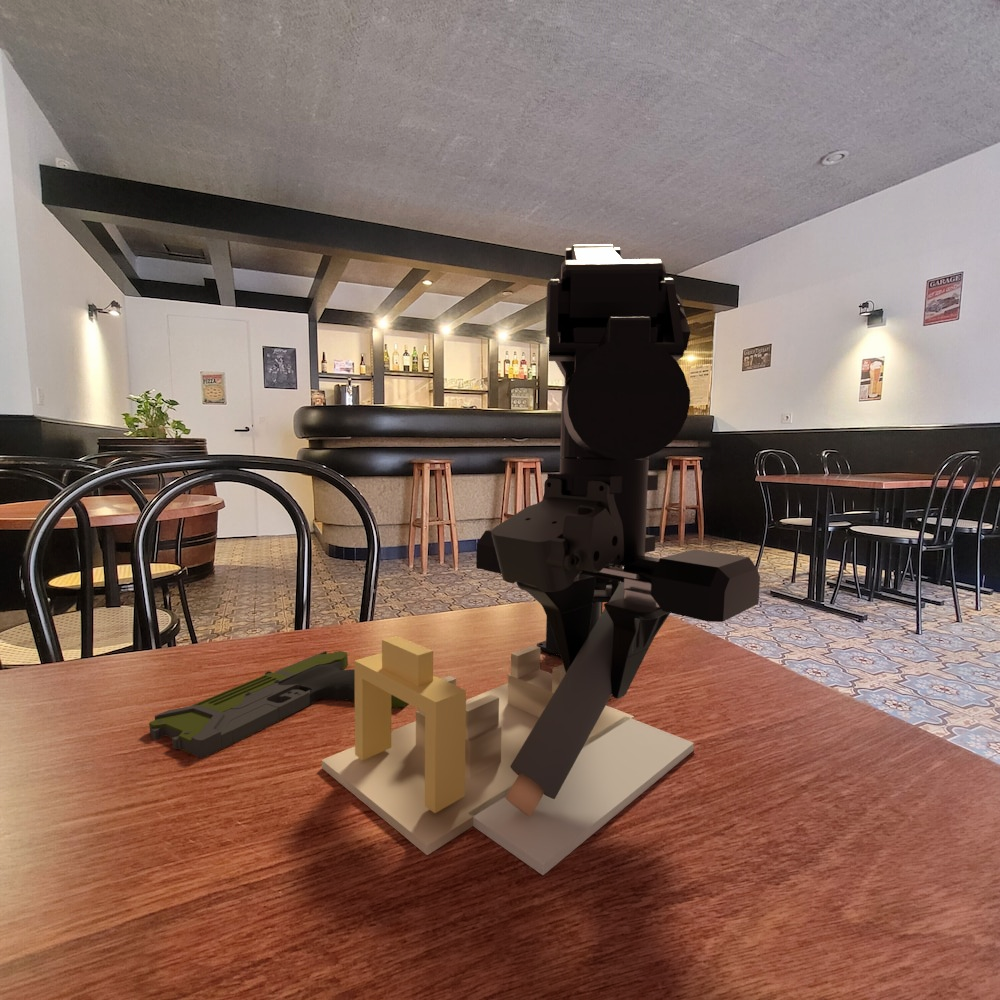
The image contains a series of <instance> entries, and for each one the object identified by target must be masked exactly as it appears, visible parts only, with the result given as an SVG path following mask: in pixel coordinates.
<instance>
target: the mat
mask: <svg viewBox="0 0 1000 1000" xmlns="http://www.w3.org/2000/svg"><path fill="white" fill-rule="evenodd" d="M624 719H627V718H624ZM621 720H623V718H622V719H620V720H619V721H617V722H615V723H614V727H613V726H612V725H613V724H612V725H610V727H611V726H612V727H611V729H610V728H609V727H607V729H609V730H606V728H605V729H604V730H603V731H601V732H602V733H600V732H599V733H600V734H598V733H597V735H598V736H599V735H600V738H598V737H596V735H594V736H595V737H593V736H592V737H591V738H589V739H587V741H586V743H585V744H586V746H585V745H584V746H585V747H584V746H583V748H582V750H581V752H580V754H579V755H578V757H577V759H576V761H575V763H574V765H573V766H572V768H571V770H570V772H569V774H568V776H567V778H566V779H565V781H564V783H563V785H562V787H561V789H560V790H559V792H558V794H557V796H556V798H555V799H552V798H550V797H548V796H546V795H544V794H543V796H542V798H541V800H540V801H539V803H538V805H537V807H536V809H535V810H534V812H533V814H532V816H531V817H529V816H528V815H526V814H525V813H523V812H522V811H520V810H519V809H518V808H516V807H515V806H514V805H512V804H511V803H510V802H509V801H508V800H507V799H506V796H505V797H503V798H501V797H502V796H500V797H499V796H497V797H498V798H497V802H496V803H494V804H493V803H492V804H493V805H491V806H489V807H488V805H487V804H489V803H490V801H491V799H489V801H488V802H489V803H488V802H487V801H486V803H484V805H487V806H484V807H483V809H484V810H483V809H482V810H483V811H482V810H481V811H479V810H478V808H479V807H480V806H478V808H475V809H477V810H478V811H479V812H480V813H478V814H476V813H475V814H473V813H472V814H473V815H475V816H473V826H472V827H473V828H475V829H476V830H477V831H479V832H481V833H482V834H484V835H485V836H487V838H488V839H491V841H494V843H496V844H498V845H499V846H500V847H502V848H503V849H505V850H506V851H507V852H509V853H511V855H513V856H515V857H516V858H517V859H519V860H520V861H522V862H523V863H524V864H526V865H527V866H528V867H530V868H531V869H533V870H535V871H536V872H537V873H539V874H540V875H542V876H544V875H546V874H547V873H548V872H549V871H550V870H552V869H553V868H555V866H556V865H558V864H559V863H560V862H561V861H562V860H564V859H565V858H566V857H567V856H569V855H570V854H571V853H572V852H573V851H574V850H576V849H577V848H578V847H580V845H582V844H583V843H584V842H585V841H587V839H589V838H590V837H591V836H593V835H594V834H595V833H596V832H597V831H599V830H600V829H601V828H602V827H603V826H605V825H606V824H607V823H608V822H610V821H611V820H612V819H613V818H614V817H615V816H616V815H618V814H619V813H621V812H622V811H623V810H624V809H625V808H626V807H628V805H630V804H631V803H632V802H634V801H635V800H636V799H637V798H638V797H639V796H641V795H642V794H644V792H645V791H647V790H648V789H649V788H650V787H652V785H654V784H655V783H656V782H657V781H659V780H660V779H661V778H662V777H664V776H665V775H666V774H667V773H668V772H670V771H671V770H672V769H673V768H674V767H676V766H677V765H678V764H679V763H681V762H682V761H683V760H684V759H685V758H687V756H689V755H690V754H691V753H692V752H694V749H695V742H693V741H690V740H688V739H685V738H682V737H681V736H680V737H679V736H677V735H675V734H672V733H670V732H667V731H664V730H662V729H660V728H656V727H654V726H652V725H650V724H646V723H644V722H641V721H638V720H636V719H635V718H634V719H632V718H630V719H628V720H627V721H626V722H624V723H622V722H623V721H625V720H623V721H621ZM618 722H619V724H618ZM620 723H621V725H620ZM615 725H616V726H618V725H619V726H618V727H616V728H615ZM612 728H614V729H613V730H612ZM604 732H606V733H604ZM602 734H604V735H603V736H602V737H601V735H602ZM590 739H591V740H590ZM588 741H589V742H588ZM590 741H591V742H590ZM593 741H594V742H593ZM587 742H588V743H589V744H587ZM511 787H512V786H511ZM509 788H510V787H509ZM509 791H510V790H509ZM505 792H508V791H507V790H506V791H505V790H504V791H503V794H502V792H501V793H499V794H502V795H505V794H506V793H505ZM504 793H505V794H504ZM506 795H507V794H506ZM492 799H493V798H492ZM499 799H500V800H499ZM495 801H496V798H495ZM493 802H494V800H493ZM481 807H482V804H481ZM475 809H473V810H475ZM473 810H472V811H473ZM472 811H471V812H472ZM475 811H476V810H475ZM478 811H476V812H478ZM470 815H471V814H470Z"/></svg>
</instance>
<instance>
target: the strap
mask: <svg viewBox="0 0 1000 1000" xmlns="http://www.w3.org/2000/svg"><path fill="white" fill-rule="evenodd" d="M354 669H355V701H354V746H355V755H356V756H357V757H359V758H360V759H362V760H364V759H367V758H369V757H371V756H373V755H376V754H378V753H380V752H383V751H385V750H387V749H389V748H391V731H392V707H391V695H393V696H395V697H397V698H399V699H401V700H402V701H404V702H406V703H408V705H410V706H412V707H413V708H416V709H417V710H418V709H419V710H421V711H423V712H424V713H425V806H426V807H427V808H428V809H430V810H431V811H432V812H434V813H437V812H438V811H440V810H442V809H443V808H445V807H447V806H449V805H450V804H452V803H454V802H456V801H457V800H459V799H461V798H462V797H464V796H465V736H466V700H467V690H466V689H464V688H462V687H460V686H458V685H457V684H456V685H453V684H451V683H449V682H447V681H445V680H443V679H442V678H440V677H438V676H436V675H434V650H432V649H430V648H428V647H425V646H423V645H420V644H418V643H415V642H413V641H410V640H408V639H406V638H403V637H400V636H399V635H394V636H391V637H387V638H383V639H381V652H380V653H376V654H373V655H368V656H366V657H362V658H360V659H356V660H354Z"/></svg>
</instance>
